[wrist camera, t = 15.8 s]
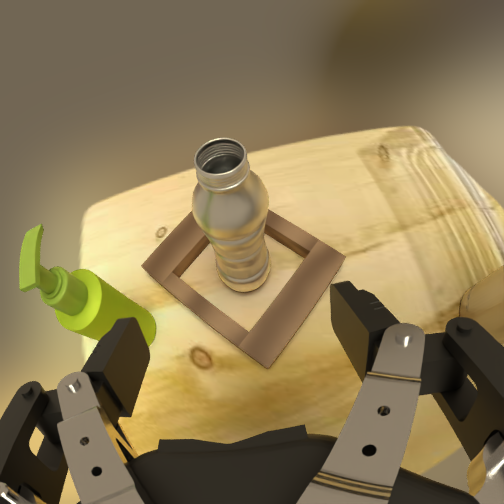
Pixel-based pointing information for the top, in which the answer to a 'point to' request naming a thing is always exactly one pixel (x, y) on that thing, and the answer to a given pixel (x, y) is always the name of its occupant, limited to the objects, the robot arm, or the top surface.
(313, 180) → the top surface
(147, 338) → the soap dispenser
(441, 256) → the top surface
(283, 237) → the brown wooden picture frame
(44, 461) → the robot arm
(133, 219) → the top surface
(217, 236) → the plastic bottle
